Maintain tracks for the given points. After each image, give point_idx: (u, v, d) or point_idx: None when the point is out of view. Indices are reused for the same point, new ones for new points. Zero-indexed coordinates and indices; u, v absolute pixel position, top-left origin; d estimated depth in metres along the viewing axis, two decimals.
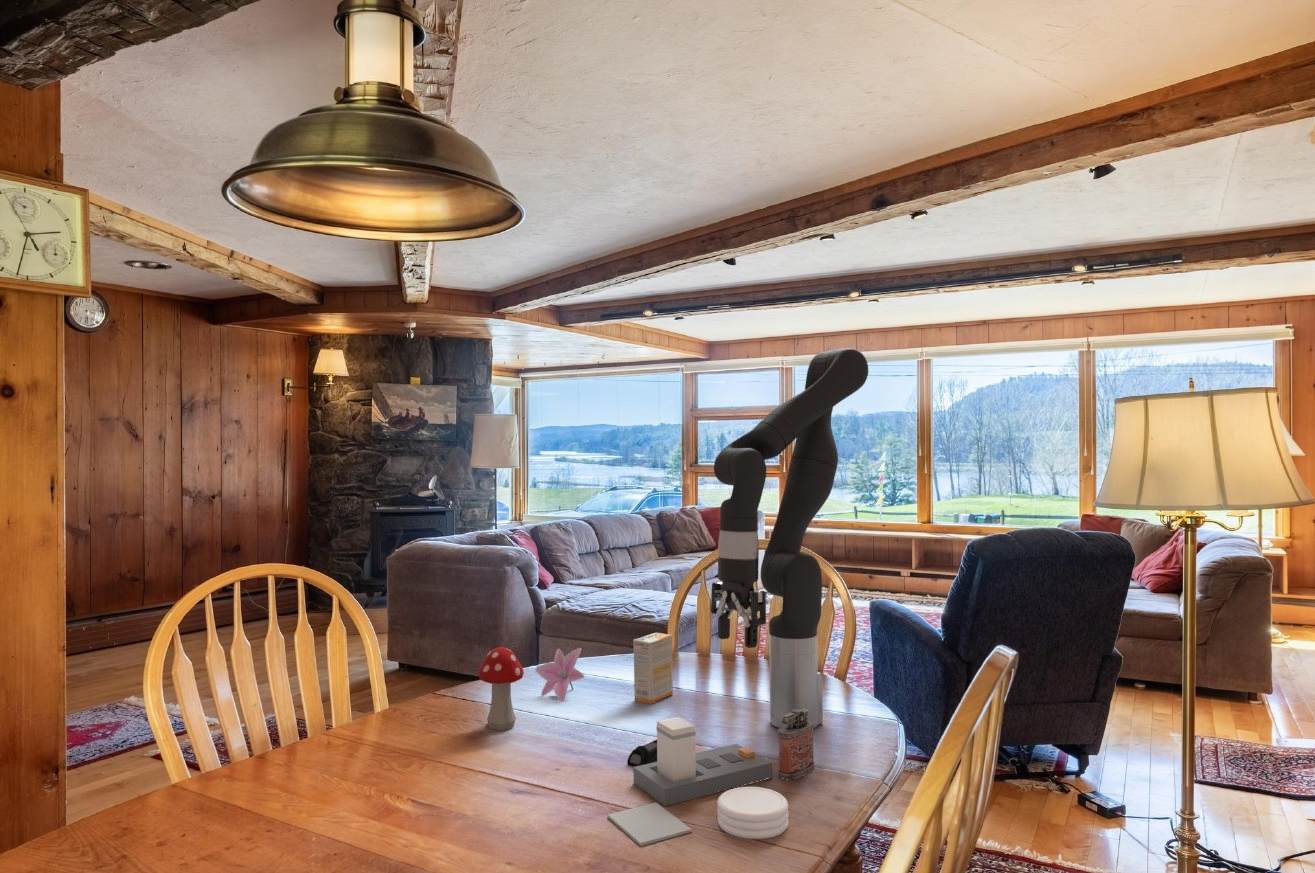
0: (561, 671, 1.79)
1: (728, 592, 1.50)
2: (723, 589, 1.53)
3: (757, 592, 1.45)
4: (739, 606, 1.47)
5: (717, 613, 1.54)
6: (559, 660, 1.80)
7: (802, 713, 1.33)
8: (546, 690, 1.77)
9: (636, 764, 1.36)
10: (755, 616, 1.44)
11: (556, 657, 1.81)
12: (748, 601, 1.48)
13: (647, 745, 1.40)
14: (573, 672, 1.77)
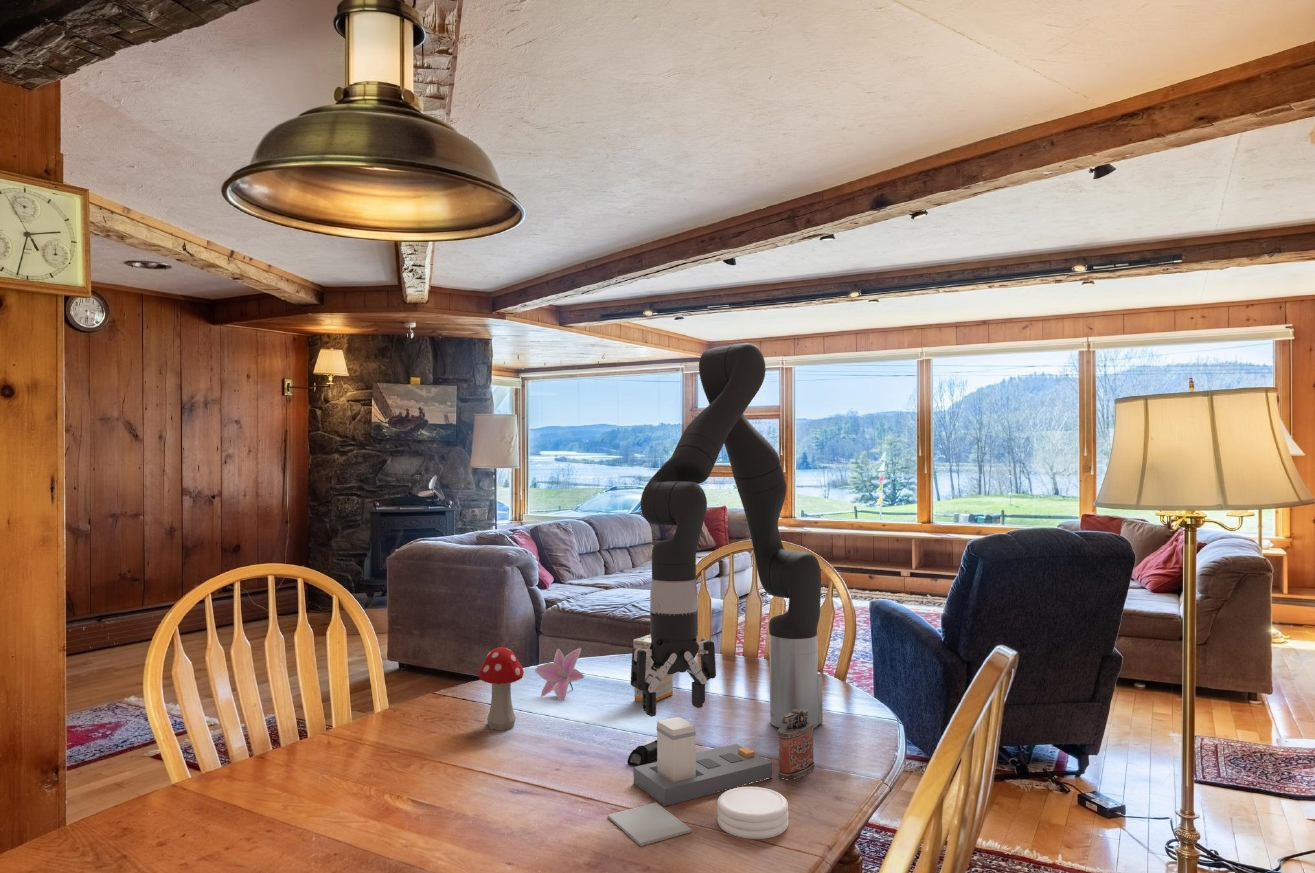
0: (561, 671, 1.79)
1: None
2: (660, 653, 1.25)
3: None
4: (695, 664, 1.28)
5: (651, 686, 1.24)
6: (559, 661, 1.80)
7: (802, 713, 1.33)
8: (546, 691, 1.77)
9: (636, 764, 1.36)
10: (715, 667, 1.30)
11: (556, 657, 1.81)
12: None
13: (648, 745, 1.40)
14: (573, 672, 1.76)
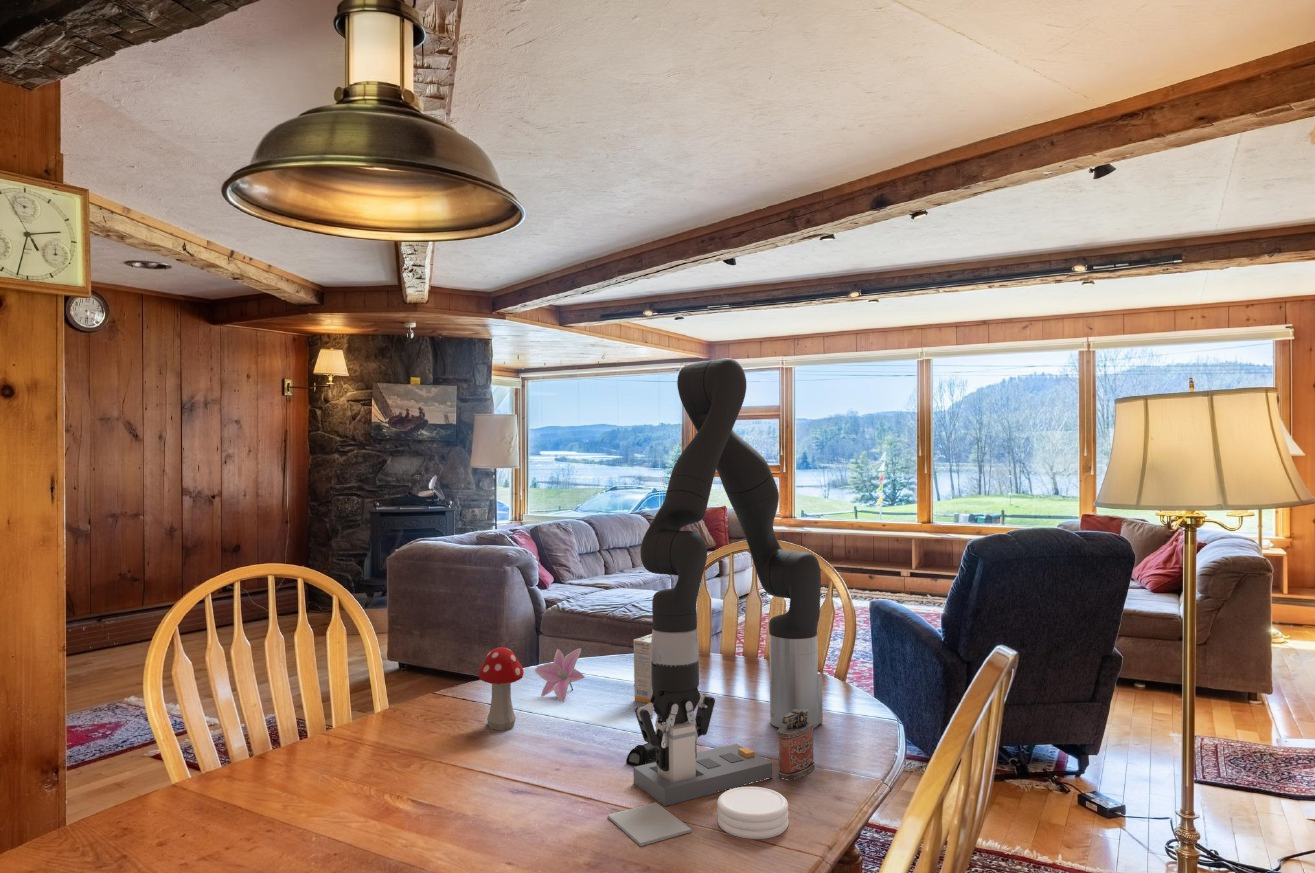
0: (561, 671, 1.79)
1: (675, 703, 1.26)
2: (662, 704, 1.25)
3: None
4: (693, 717, 1.27)
5: (664, 742, 1.25)
6: (559, 661, 1.80)
7: (802, 713, 1.33)
8: (546, 691, 1.76)
9: (635, 763, 1.36)
10: (708, 725, 1.29)
11: (556, 657, 1.80)
12: None
13: (647, 744, 1.40)
14: (573, 672, 1.76)
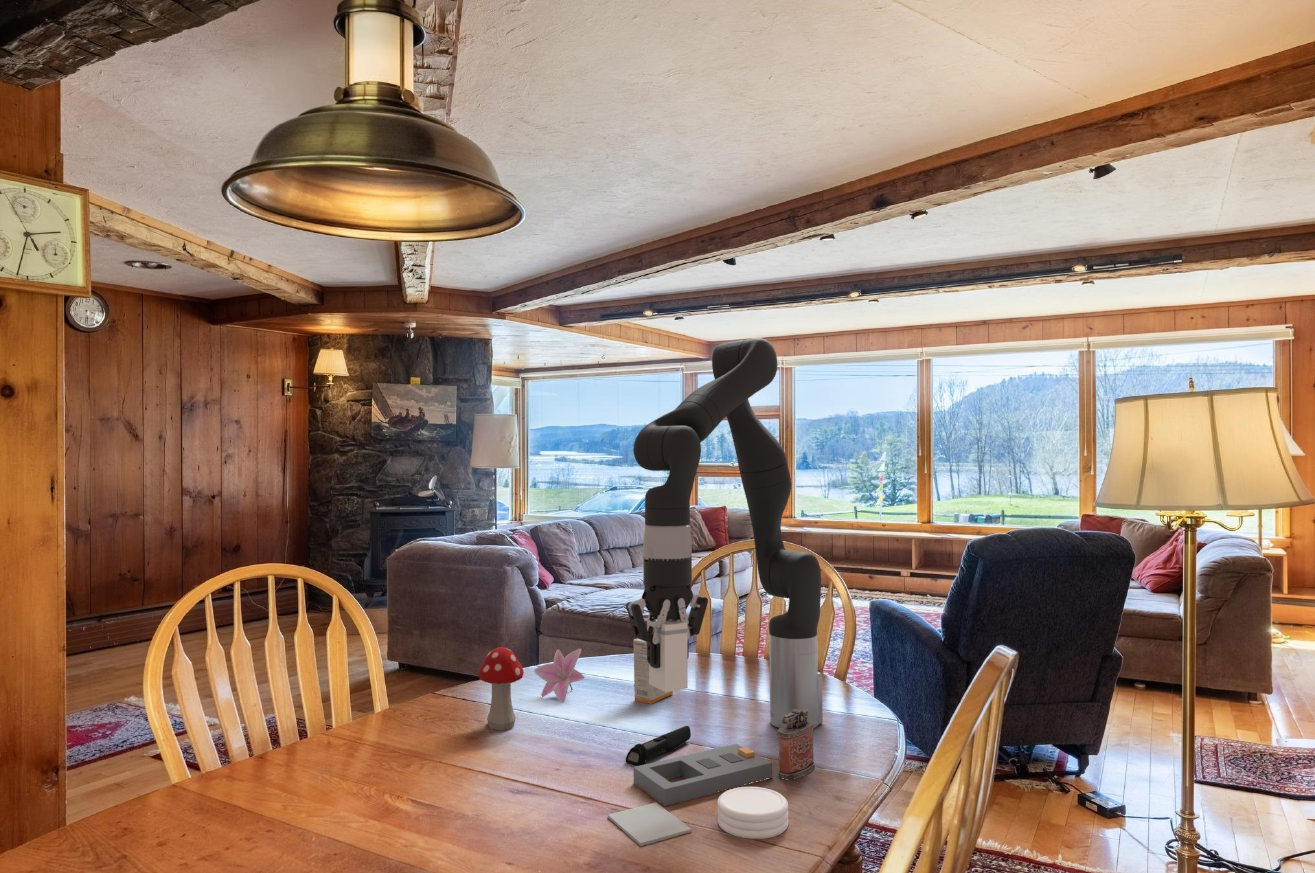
0: (561, 672, 1.78)
1: None
2: (654, 600, 1.23)
3: None
4: (685, 615, 1.25)
5: (656, 638, 1.23)
6: (559, 661, 1.79)
7: (802, 713, 1.33)
8: (546, 691, 1.76)
9: (634, 762, 1.36)
10: (701, 625, 1.27)
11: (555, 658, 1.80)
12: None
13: (646, 743, 1.40)
14: (573, 673, 1.76)
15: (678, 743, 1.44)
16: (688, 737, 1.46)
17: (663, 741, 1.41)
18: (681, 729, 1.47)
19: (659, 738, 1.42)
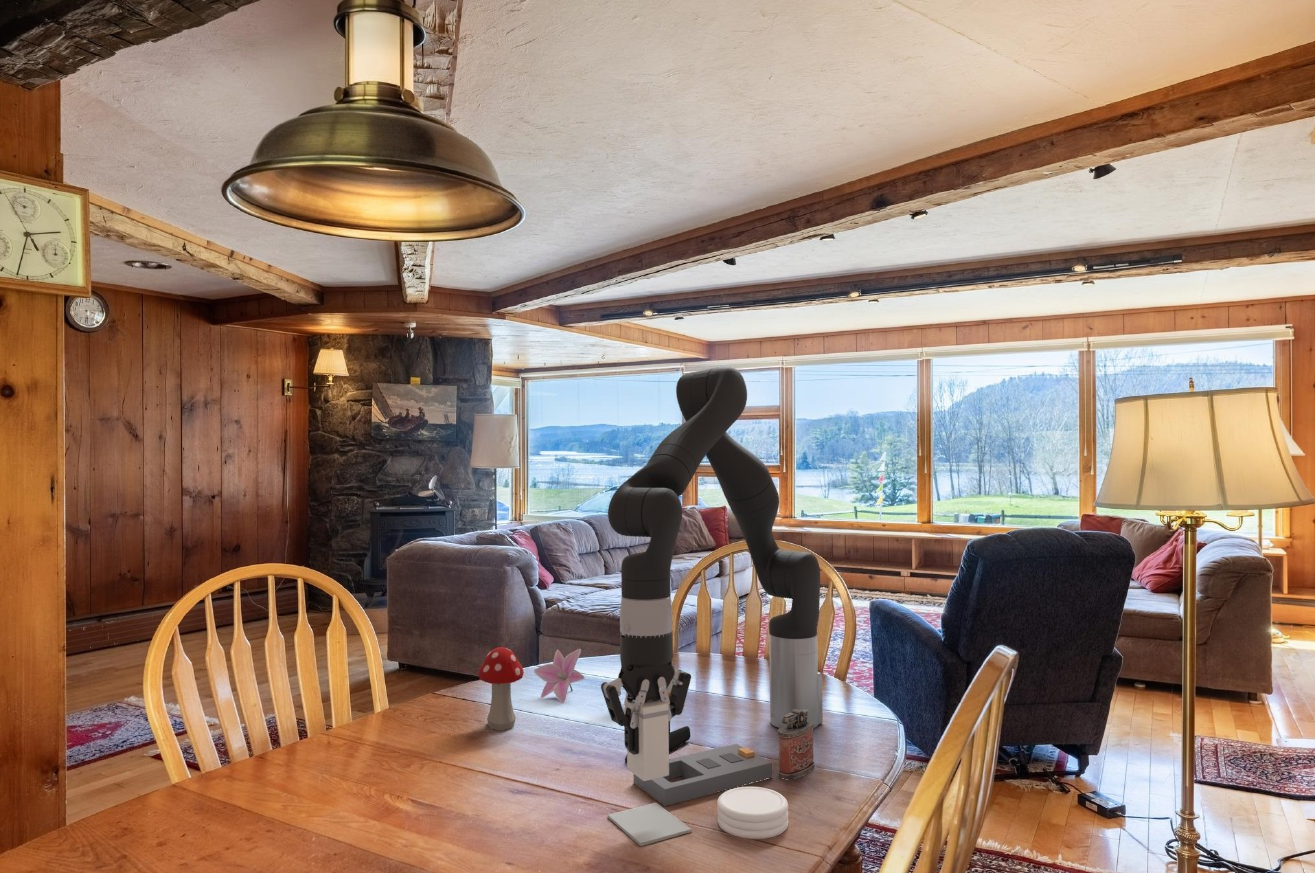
0: (560, 672, 1.78)
1: (646, 679, 1.13)
2: (631, 680, 1.12)
3: None
4: (666, 695, 1.14)
5: (634, 721, 1.12)
6: (558, 662, 1.79)
7: (802, 713, 1.33)
8: (546, 692, 1.76)
9: None
10: (683, 703, 1.17)
11: (555, 658, 1.80)
12: None
13: None
14: (573, 673, 1.76)
15: (677, 743, 1.44)
16: (688, 737, 1.47)
17: None
18: (681, 729, 1.47)
19: None
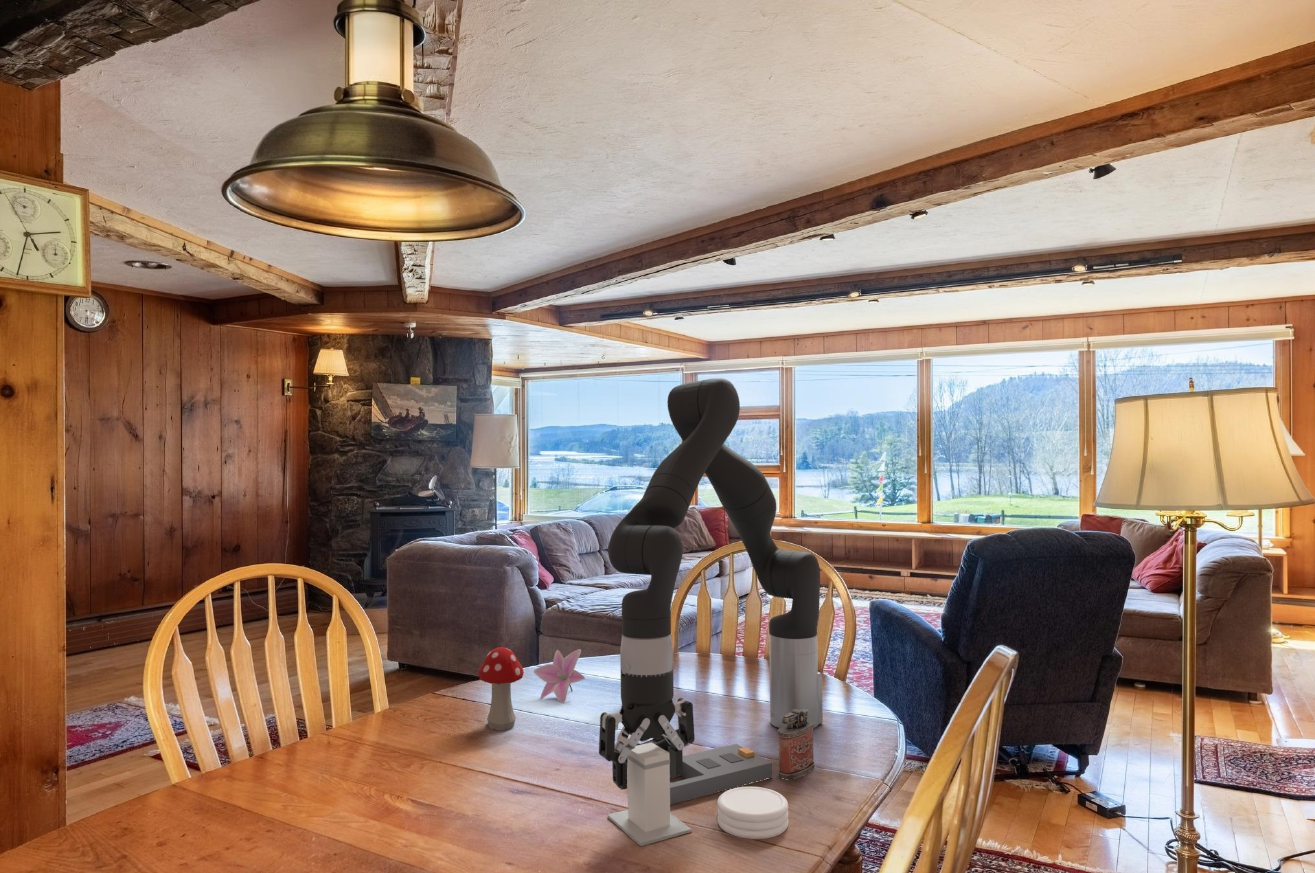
0: (560, 673, 1.78)
1: None
2: (631, 719, 1.12)
3: (688, 701, 1.18)
4: (671, 729, 1.15)
5: (622, 756, 1.11)
6: (558, 662, 1.79)
7: (802, 713, 1.33)
8: (545, 692, 1.75)
9: None
10: (693, 730, 1.17)
11: (555, 659, 1.79)
12: None
13: (645, 743, 1.41)
14: (573, 674, 1.75)
15: None
16: None
17: (662, 741, 1.42)
18: None
19: (659, 738, 1.43)
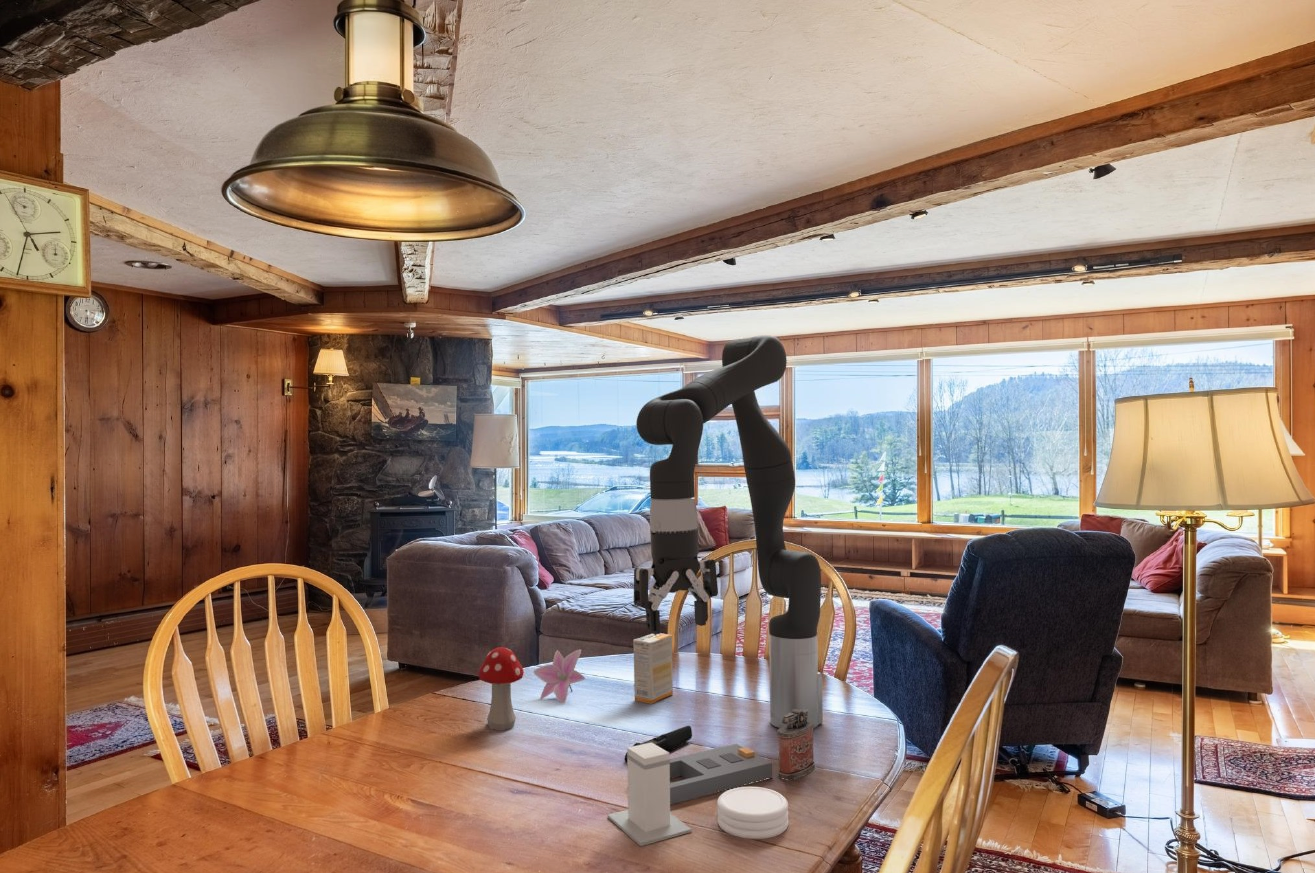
0: (560, 673, 1.78)
1: None
2: (662, 572, 1.25)
3: (711, 559, 1.31)
4: (697, 582, 1.28)
5: (654, 604, 1.24)
6: (558, 662, 1.79)
7: (802, 713, 1.33)
8: (545, 693, 1.75)
9: None
10: (717, 585, 1.30)
11: (555, 659, 1.79)
12: None
13: (645, 742, 1.41)
14: (573, 674, 1.75)
15: (678, 743, 1.44)
16: (689, 737, 1.47)
17: (663, 741, 1.42)
18: (682, 729, 1.47)
19: (659, 737, 1.43)
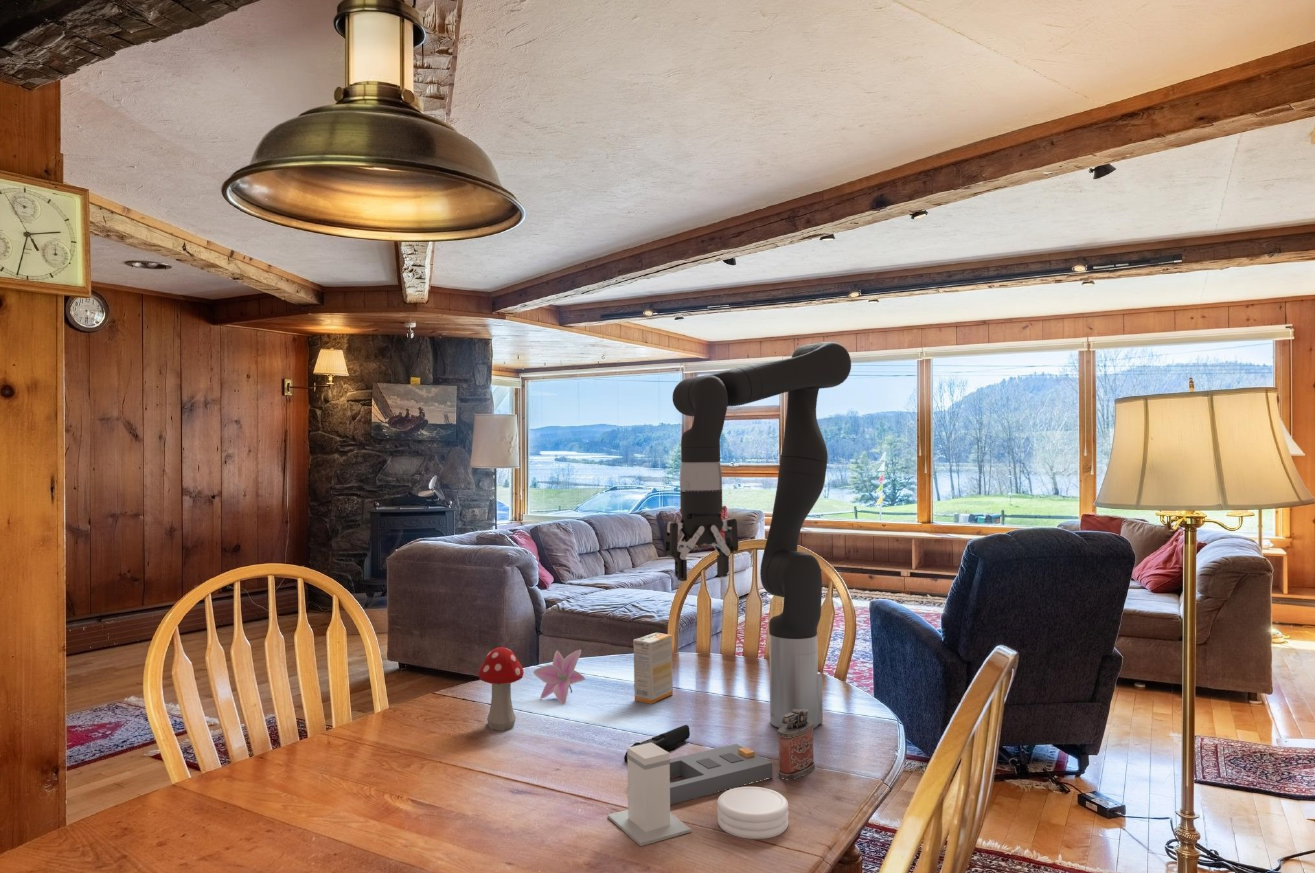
0: (560, 673, 1.77)
1: None
2: (690, 526, 1.42)
3: None
4: (720, 537, 1.45)
5: (682, 554, 1.41)
6: (558, 662, 1.78)
7: (802, 713, 1.33)
8: (545, 693, 1.75)
9: None
10: (737, 541, 1.47)
11: (555, 659, 1.79)
12: None
13: (645, 742, 1.41)
14: (573, 674, 1.75)
15: (676, 742, 1.44)
16: (687, 736, 1.47)
17: (662, 740, 1.42)
18: (680, 728, 1.47)
19: (658, 737, 1.43)
